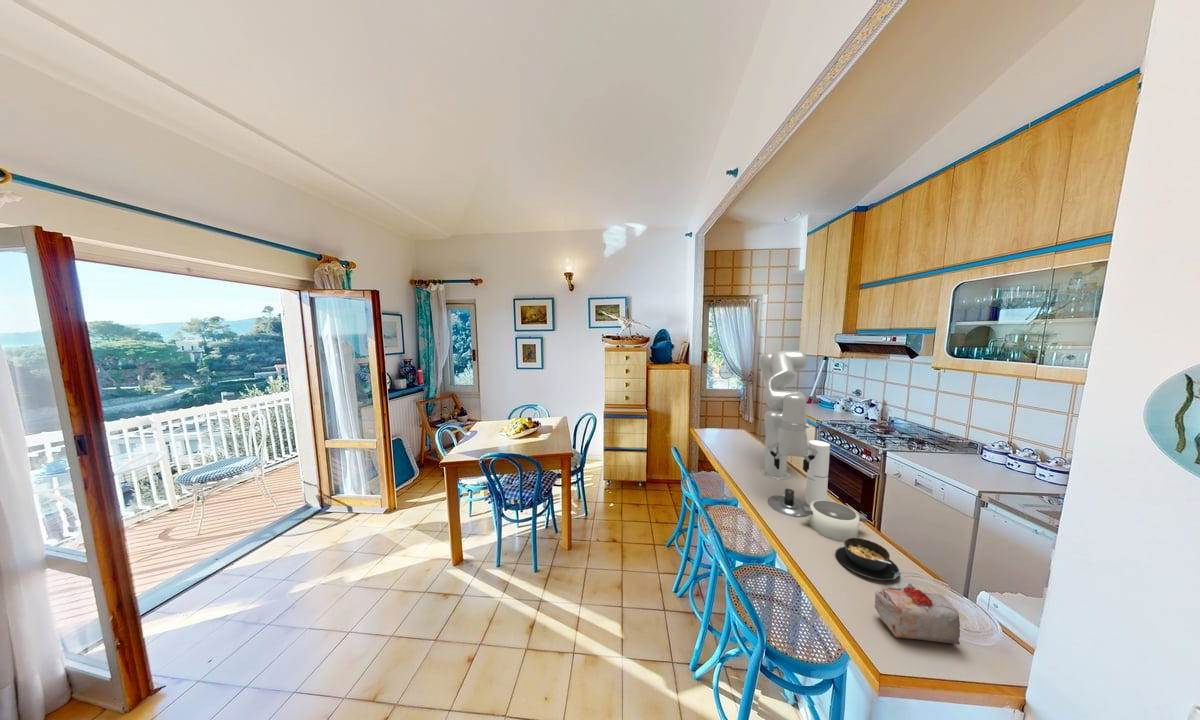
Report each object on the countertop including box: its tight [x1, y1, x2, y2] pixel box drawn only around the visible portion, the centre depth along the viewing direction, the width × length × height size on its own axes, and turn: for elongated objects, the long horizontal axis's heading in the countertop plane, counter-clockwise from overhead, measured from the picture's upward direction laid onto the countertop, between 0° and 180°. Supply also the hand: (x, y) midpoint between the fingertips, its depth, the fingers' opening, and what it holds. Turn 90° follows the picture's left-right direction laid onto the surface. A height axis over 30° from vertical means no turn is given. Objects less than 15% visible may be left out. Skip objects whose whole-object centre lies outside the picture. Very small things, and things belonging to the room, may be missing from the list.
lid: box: [766, 488, 810, 518], centre depth 130 cm, size 15×15×7 cm
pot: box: [803, 500, 868, 542], centre depth 116 cm, size 14×18×7 cm
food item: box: [873, 582, 961, 645], centre depth 77 cm, size 14×8×10 cm, turn 81°
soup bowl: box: [834, 537, 901, 582], centre depth 98 cm, size 15×16×7 cm
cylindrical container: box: [804, 439, 831, 505], centre depth 132 cm, size 7×7×25 cm
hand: (791, 469), depth 129 cm, fingers open, 9 cm apart
